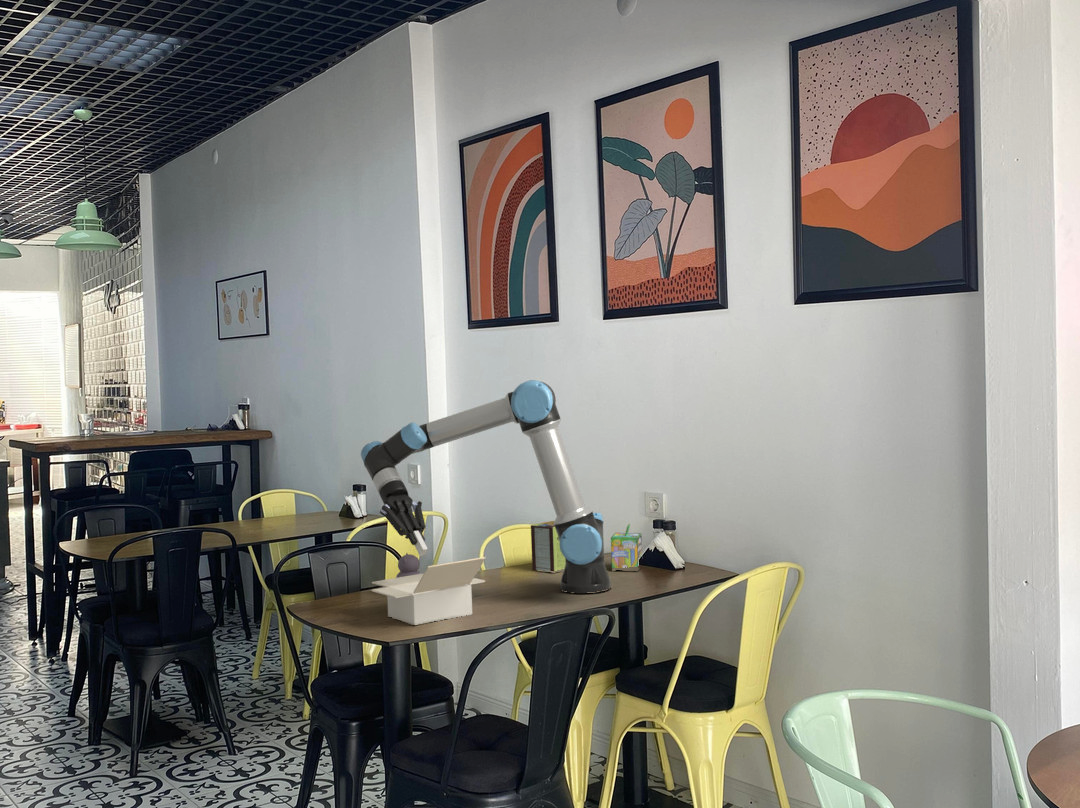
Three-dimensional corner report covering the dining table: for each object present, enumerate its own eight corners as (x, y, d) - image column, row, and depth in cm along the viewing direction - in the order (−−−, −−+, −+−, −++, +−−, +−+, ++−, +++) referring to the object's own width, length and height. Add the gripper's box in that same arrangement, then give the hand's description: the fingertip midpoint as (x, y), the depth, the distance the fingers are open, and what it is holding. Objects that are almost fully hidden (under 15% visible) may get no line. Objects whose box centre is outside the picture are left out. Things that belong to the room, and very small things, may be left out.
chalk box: (616, 566, 324) (614, 522, 324) (643, 567, 322) (641, 522, 322) (610, 571, 315) (609, 526, 315) (638, 572, 313) (637, 526, 313)
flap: (428, 566, 244) (428, 567, 244) (485, 556, 255) (485, 558, 255) (413, 592, 250) (413, 593, 250) (469, 582, 261) (470, 583, 261)
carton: (355, 615, 265) (354, 584, 265) (442, 598, 282) (441, 570, 282) (397, 629, 247) (396, 597, 247) (487, 611, 264) (486, 580, 264)
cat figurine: (420, 596, 287) (419, 556, 286) (394, 597, 287) (392, 557, 287) (424, 590, 295) (423, 551, 295) (398, 591, 295) (397, 552, 295)
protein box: (585, 566, 326) (583, 521, 326) (554, 574, 315) (552, 526, 315) (562, 563, 333) (560, 518, 333) (531, 570, 322) (529, 524, 322)
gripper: (406, 494, 281) (439, 557, 269) (366, 498, 273) (398, 564, 261) (415, 476, 277) (448, 540, 264) (374, 480, 269) (407, 546, 256)
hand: (423, 552), depth 263 cm, fingers closed
